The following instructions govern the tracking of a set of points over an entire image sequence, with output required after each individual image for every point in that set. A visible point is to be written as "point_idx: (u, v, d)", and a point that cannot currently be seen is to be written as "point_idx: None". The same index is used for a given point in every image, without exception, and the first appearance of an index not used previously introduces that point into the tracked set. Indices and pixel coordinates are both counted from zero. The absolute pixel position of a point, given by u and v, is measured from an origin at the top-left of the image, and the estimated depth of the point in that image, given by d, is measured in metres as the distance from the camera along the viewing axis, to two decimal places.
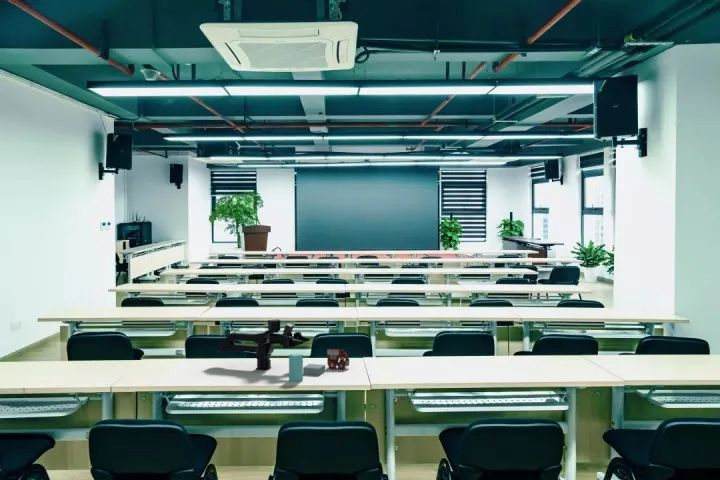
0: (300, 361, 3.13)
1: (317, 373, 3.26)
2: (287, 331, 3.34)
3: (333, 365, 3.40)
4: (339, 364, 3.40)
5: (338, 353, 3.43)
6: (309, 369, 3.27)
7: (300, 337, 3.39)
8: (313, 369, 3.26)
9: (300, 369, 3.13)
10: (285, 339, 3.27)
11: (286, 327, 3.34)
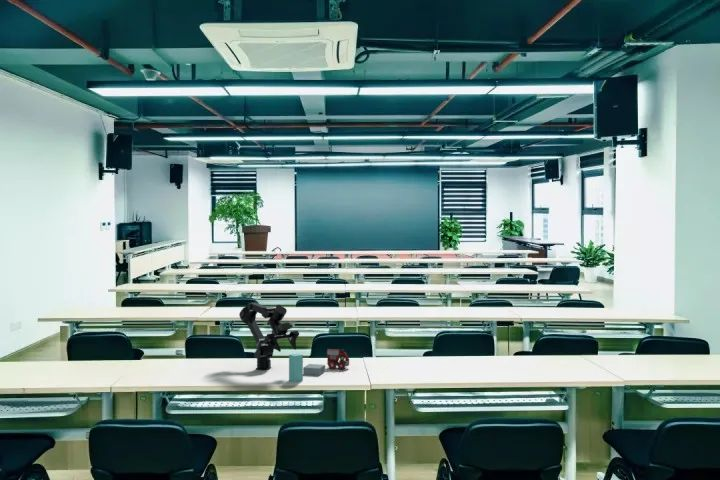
0: (300, 361, 3.13)
1: (317, 373, 3.26)
2: (280, 329, 3.23)
3: (333, 365, 3.40)
4: (339, 364, 3.40)
5: (338, 353, 3.43)
6: (309, 369, 3.27)
7: (292, 339, 3.27)
8: (313, 369, 3.26)
9: (300, 369, 3.13)
10: (267, 337, 3.19)
11: (281, 325, 3.22)
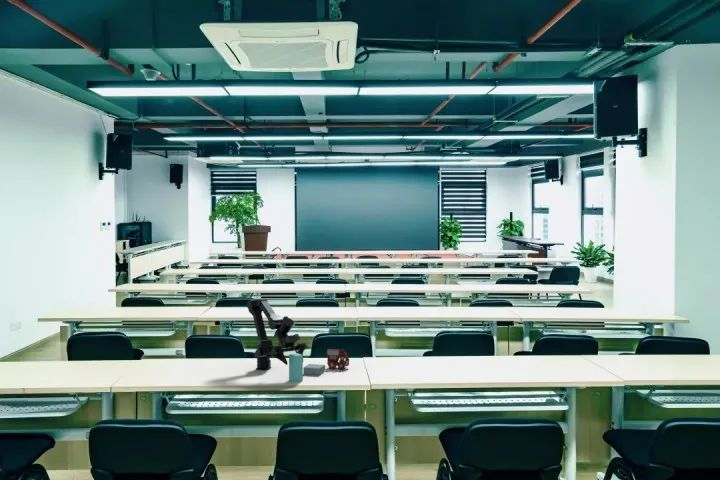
0: (300, 361, 3.13)
1: (317, 373, 3.26)
2: (286, 341, 3.17)
3: (333, 365, 3.40)
4: (339, 364, 3.40)
5: (338, 353, 3.43)
6: (310, 369, 3.27)
7: (299, 352, 3.21)
8: (313, 369, 3.26)
9: (300, 369, 3.13)
10: (274, 350, 3.13)
11: (288, 338, 3.16)
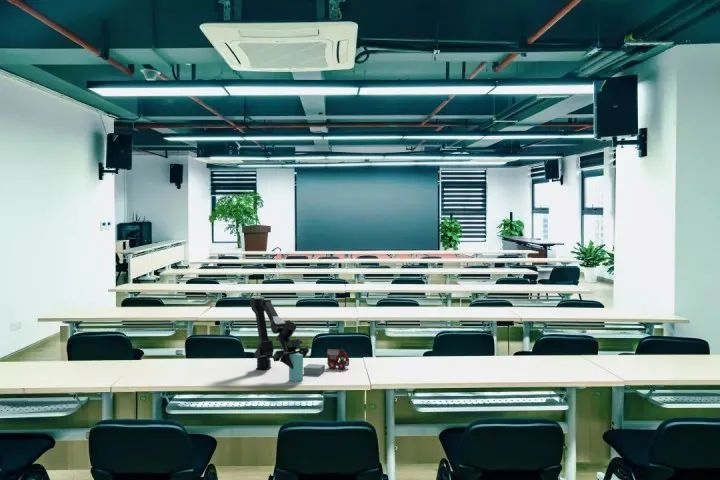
0: (300, 361, 3.13)
1: (318, 373, 3.26)
2: (289, 346, 3.15)
3: (333, 365, 3.40)
4: (339, 364, 3.40)
5: (338, 353, 3.43)
6: (310, 369, 3.27)
7: None
8: (314, 369, 3.26)
9: (300, 369, 3.13)
10: (276, 354, 3.11)
11: (290, 342, 3.14)
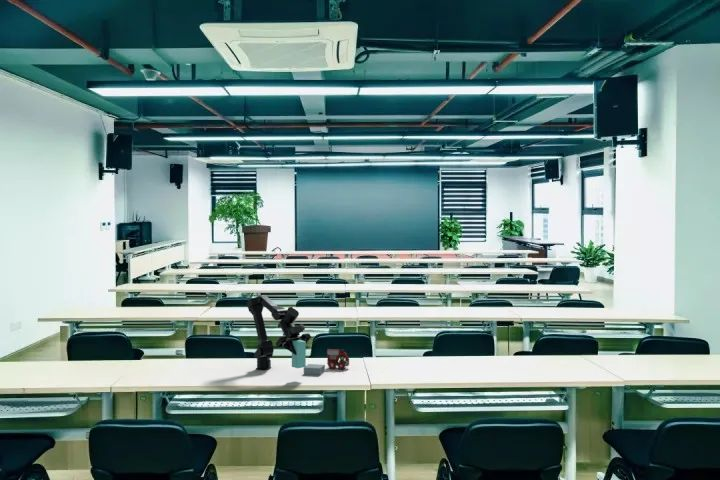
0: (303, 347, 3.15)
1: (318, 373, 3.26)
2: (292, 332, 3.16)
3: (333, 365, 3.40)
4: (339, 364, 3.40)
5: (338, 353, 3.43)
6: (310, 369, 3.27)
7: None
8: (314, 369, 3.26)
9: (303, 356, 3.15)
10: (279, 340, 3.12)
11: (293, 328, 3.15)
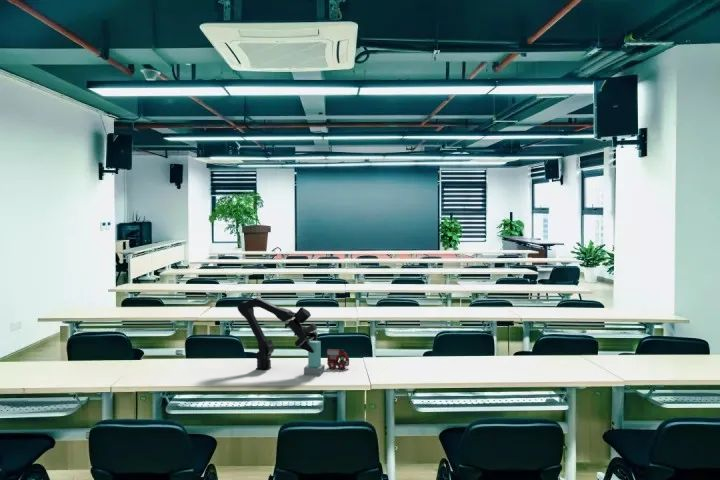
0: (319, 347, 3.31)
1: (318, 373, 3.26)
2: (308, 331, 3.29)
3: (333, 365, 3.40)
4: (339, 364, 3.40)
5: (338, 353, 3.43)
6: (310, 369, 3.27)
7: (314, 340, 3.36)
8: (314, 369, 3.26)
9: (319, 355, 3.31)
10: (301, 340, 3.23)
11: (310, 327, 3.29)
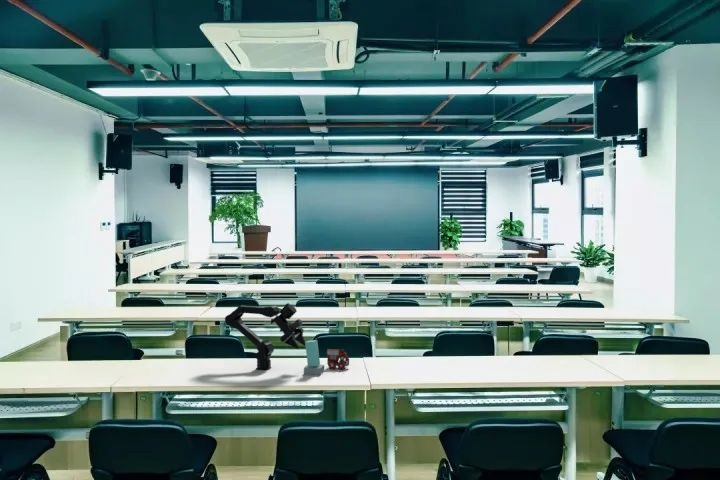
0: (317, 346, 3.32)
1: (318, 373, 3.26)
2: (294, 327, 3.32)
3: (333, 365, 3.40)
4: (339, 364, 3.40)
5: (338, 353, 3.43)
6: (310, 369, 3.27)
7: (300, 336, 3.39)
8: (314, 369, 3.27)
9: (317, 354, 3.31)
10: (287, 335, 3.26)
11: (296, 323, 3.32)
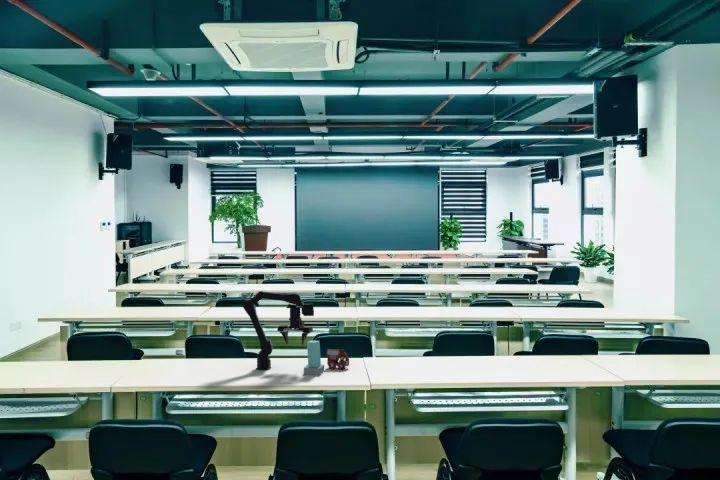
0: (318, 347, 3.31)
1: (318, 373, 3.26)
2: (302, 325, 3.45)
3: (333, 365, 3.40)
4: (339, 364, 3.40)
5: (338, 353, 3.43)
6: (310, 369, 3.27)
7: (287, 333, 3.44)
8: (314, 369, 3.26)
9: (319, 355, 3.31)
10: (312, 330, 3.41)
11: (303, 323, 3.47)
